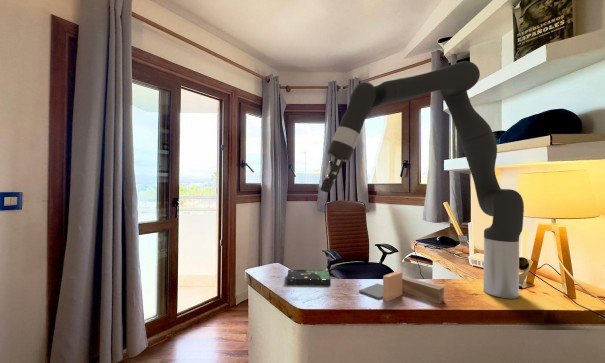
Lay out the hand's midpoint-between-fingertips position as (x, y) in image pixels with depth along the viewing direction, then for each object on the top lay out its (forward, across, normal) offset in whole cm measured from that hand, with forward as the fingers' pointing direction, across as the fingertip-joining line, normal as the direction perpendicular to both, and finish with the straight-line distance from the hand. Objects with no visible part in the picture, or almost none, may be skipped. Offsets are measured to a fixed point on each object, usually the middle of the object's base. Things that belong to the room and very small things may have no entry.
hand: (324, 191), depth 90 cm
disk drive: (+32, +10, -8) cm, 34 cm away
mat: (+23, 0, -28) cm, 36 cm away
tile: (+22, -4, -31) cm, 38 cm away
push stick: (+19, -1, -38) cm, 43 cm away
